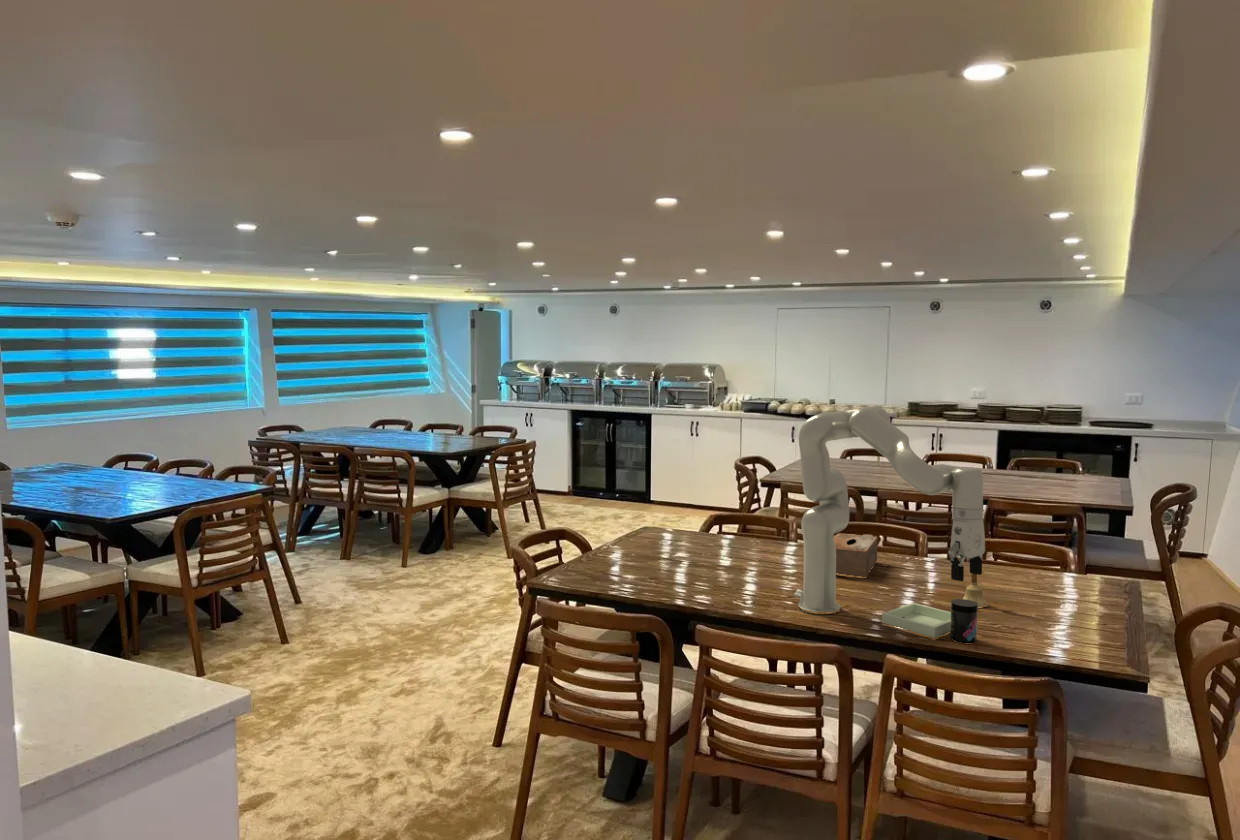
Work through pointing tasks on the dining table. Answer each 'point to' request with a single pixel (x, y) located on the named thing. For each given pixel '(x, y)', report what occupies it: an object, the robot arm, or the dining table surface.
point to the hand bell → (975, 592)
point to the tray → (919, 619)
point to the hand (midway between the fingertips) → (966, 576)
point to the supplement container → (964, 620)
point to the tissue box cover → (855, 554)
